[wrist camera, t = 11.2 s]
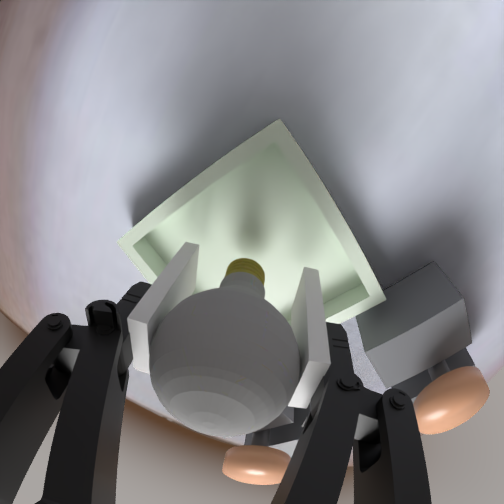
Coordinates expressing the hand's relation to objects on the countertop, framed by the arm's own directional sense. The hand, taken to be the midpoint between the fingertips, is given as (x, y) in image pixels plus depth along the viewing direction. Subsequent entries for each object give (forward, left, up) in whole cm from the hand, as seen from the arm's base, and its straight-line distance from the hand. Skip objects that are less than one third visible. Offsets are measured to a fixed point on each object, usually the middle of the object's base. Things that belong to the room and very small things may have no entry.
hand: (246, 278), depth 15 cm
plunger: (+12, -7, -1) cm, 14 cm away
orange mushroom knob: (+12, +7, -1) cm, 14 cm away
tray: (0, 0, -3) cm, 3 cm away
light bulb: (0, 0, -2) cm, 2 cm away
